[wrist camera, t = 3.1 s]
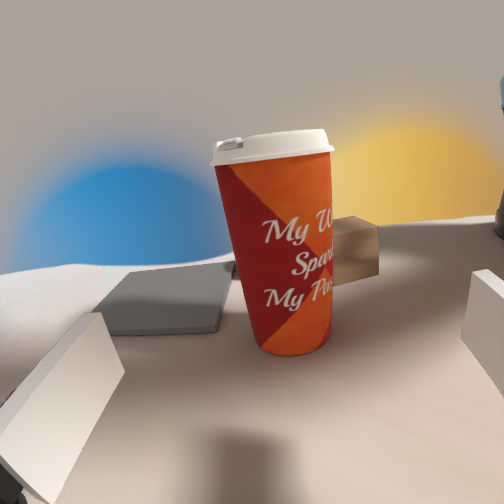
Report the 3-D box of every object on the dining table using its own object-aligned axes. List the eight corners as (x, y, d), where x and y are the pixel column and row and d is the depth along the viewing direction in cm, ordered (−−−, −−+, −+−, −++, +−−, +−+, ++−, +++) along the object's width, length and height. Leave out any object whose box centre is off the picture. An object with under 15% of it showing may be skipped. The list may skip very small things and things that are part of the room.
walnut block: (355, 259, 34) (353, 215, 33) (378, 275, 30) (378, 226, 28) (314, 268, 34) (310, 223, 32) (334, 286, 29) (331, 235, 27)
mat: (235, 265, 38) (235, 260, 37) (216, 331, 24) (214, 325, 24) (130, 276, 39) (129, 272, 39) (76, 335, 26) (74, 329, 26)
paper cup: (302, 382, 18) (275, 130, 13) (220, 342, 23) (181, 148, 19) (363, 320, 23) (355, 126, 18) (286, 298, 28) (266, 137, 24)
